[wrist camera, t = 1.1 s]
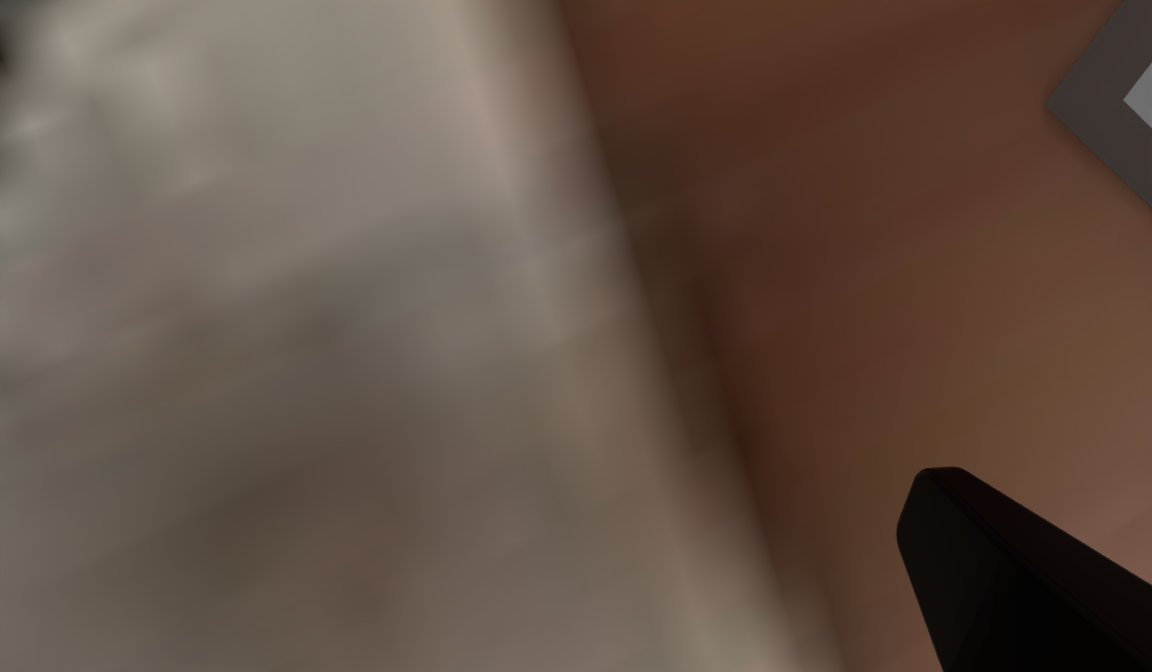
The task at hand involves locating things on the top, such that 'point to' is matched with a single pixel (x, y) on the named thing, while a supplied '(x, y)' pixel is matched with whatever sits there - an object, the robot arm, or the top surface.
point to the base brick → (1114, 96)
